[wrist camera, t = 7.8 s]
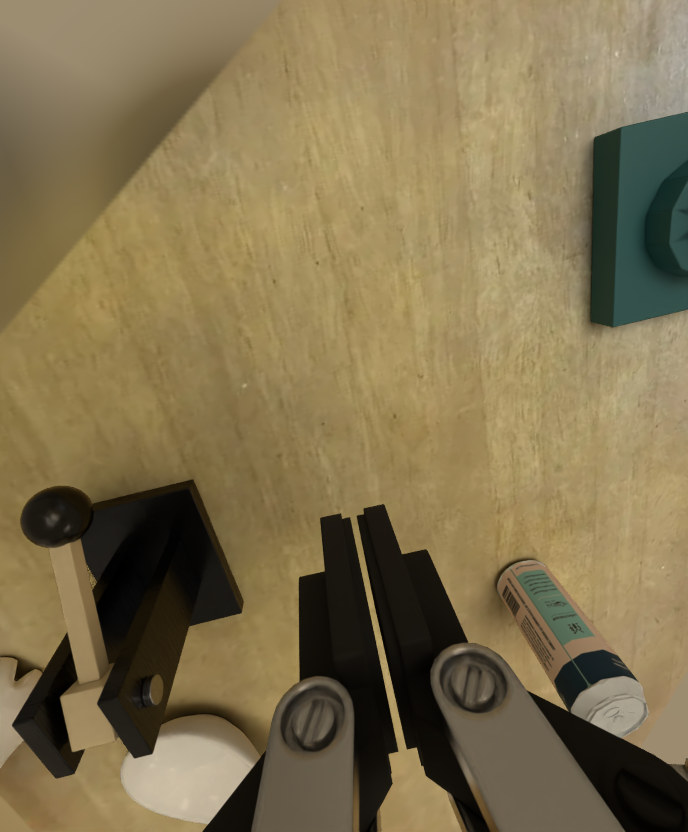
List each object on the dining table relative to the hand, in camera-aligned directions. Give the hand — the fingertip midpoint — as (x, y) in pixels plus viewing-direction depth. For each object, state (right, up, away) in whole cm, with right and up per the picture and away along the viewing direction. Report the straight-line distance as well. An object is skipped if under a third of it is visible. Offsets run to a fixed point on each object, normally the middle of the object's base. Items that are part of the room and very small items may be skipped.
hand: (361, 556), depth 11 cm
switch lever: (-14, -6, +13) cm, 20 cm away
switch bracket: (-14, -7, +21) cm, 27 cm away
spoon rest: (-9, -28, +30) cm, 42 cm away
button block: (+20, +16, +16) cm, 30 cm away
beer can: (+15, -11, +26) cm, 32 cm away
